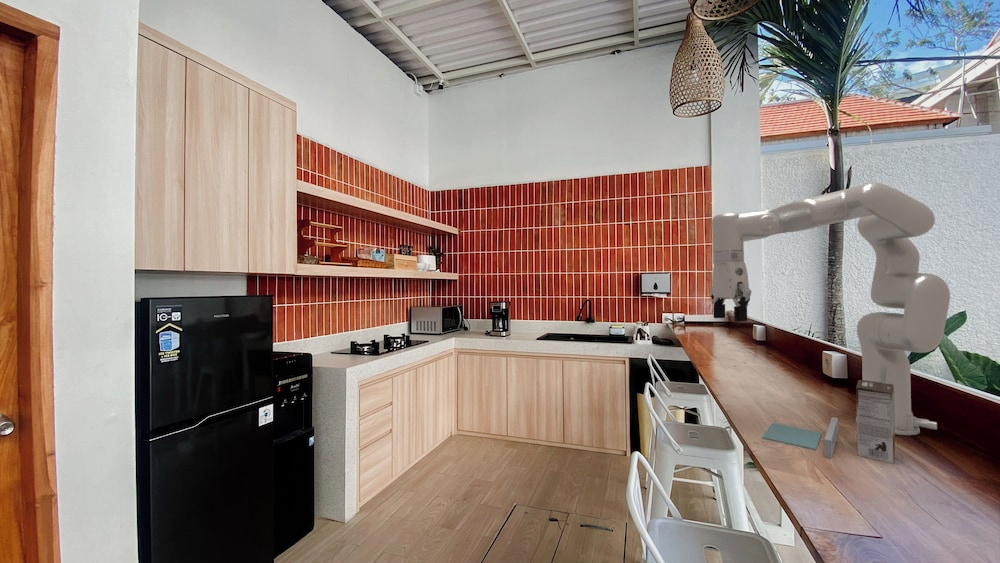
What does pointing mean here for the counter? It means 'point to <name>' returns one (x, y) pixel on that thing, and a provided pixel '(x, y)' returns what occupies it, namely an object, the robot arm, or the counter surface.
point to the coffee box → (875, 420)
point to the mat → (793, 436)
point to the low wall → (831, 437)
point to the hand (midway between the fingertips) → (729, 319)
